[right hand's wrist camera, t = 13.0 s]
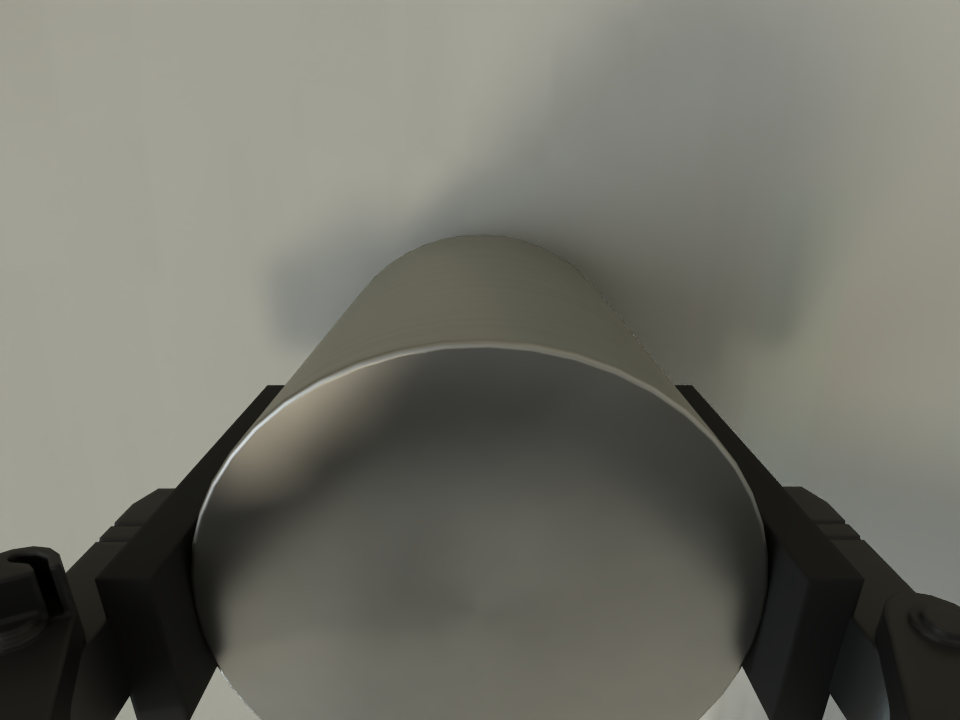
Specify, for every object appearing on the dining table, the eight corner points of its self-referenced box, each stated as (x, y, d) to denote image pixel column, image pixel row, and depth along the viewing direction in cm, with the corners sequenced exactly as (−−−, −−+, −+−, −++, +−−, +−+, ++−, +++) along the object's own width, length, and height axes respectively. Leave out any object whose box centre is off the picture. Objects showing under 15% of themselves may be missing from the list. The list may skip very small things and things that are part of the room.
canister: (597, 200, 15) (749, 268, 7) (640, 469, 18) (785, 757, 10) (295, 275, 16) (80, 423, 7) (385, 521, 19) (306, 833, 10)
